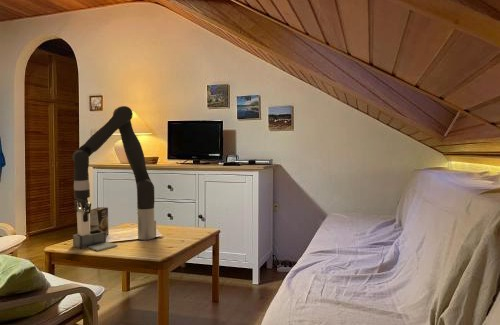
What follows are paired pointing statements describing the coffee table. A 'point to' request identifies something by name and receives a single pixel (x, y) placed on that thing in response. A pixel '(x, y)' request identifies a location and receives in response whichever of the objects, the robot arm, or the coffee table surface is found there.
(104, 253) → the coffee table surface
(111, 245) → the rubber mat
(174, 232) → the coffee table surface
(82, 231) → the square peg
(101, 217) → the coffee box
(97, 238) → the grey rectangular bin
